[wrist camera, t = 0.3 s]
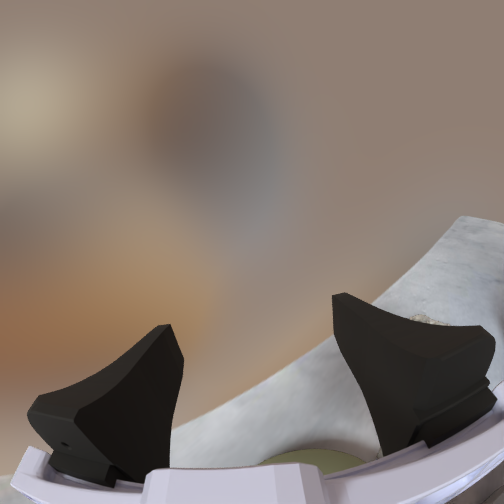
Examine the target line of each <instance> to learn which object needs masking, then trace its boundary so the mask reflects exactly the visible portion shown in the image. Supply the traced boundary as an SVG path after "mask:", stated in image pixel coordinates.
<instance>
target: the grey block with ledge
mask: <svg viewBox="0 0 504 504" xmlns="http://www.w3.org/2000/svg"><path fill="white" fill-rule="evenodd" d="M482 504H504V485H503V486H502V487H501V488H499V489H498V490H496V491H495V492H494V493H493V494H492V495H491V496H490V497H489V498H488V499H486V500H485V501H484V502H483V503H482Z"/></svg>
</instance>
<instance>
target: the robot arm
mask: <svg viewBox="0 0 504 504" xmlns="http://www.w3.org/2000/svg"><path fill="white" fill-rule="evenodd" d="M332 307H333V328H334V335H335V338H336V341H337V344H338V346H339V349H340V351H341V353H342V355H343V357H344V359H345V360H346V362H347V364H348V366H349V368H350V369H351V371H352V373H353V375H354V377H355V379H356V380H357V382H358V384H359V386H360V388H361V390H362V392H363V395H364V397H365V400H366V403H367V405H368V408H369V411H370V414H371V417H372V419H373V422H374V425H375V429H376V432H377V435H378V439H379V442H380V446H381V450H382V454H383V457H382V458H380V459H377V460H374V461H371V462H368V463H366V464H362V465H359V466H356V467H353V468H350V469H346V470H343V471H339V472H335V473H331V474H327V475H323V473H322V472H321V471H320V469H319V468H318V467H317V466H314V465H311V464H305V463H300V462H287V463H271V464H263V465H255V466H244V467H230V468H170V438H171V426H172V419H173V414H174V410H175V406H176V402H177V397H178V394H179V390H180V386H181V381H182V377H183V367H184V357H183V355H182V353H181V350H180V348H179V345H178V343H177V340H176V338H175V335H174V332H173V330H172V327H171V325H170V324H167V325H159V326H157V327H155V328H154V329H153V330H152V331H150V332H149V333H148V334H147V335H146V336H144V337H143V338H142V339H141V340H140V341H139V342H138V343H136V344H135V345H134V346H133V347H132V348H131V349H130V350H128V351H127V352H126V353H124V354H123V355H122V356H121V357H119V358H118V359H117V360H116V361H114V362H113V363H111V364H110V365H109V366H107V367H105V368H104V369H102V370H101V371H99V372H98V373H96V374H94V375H92V376H90V377H88V378H86V379H84V380H82V381H80V382H78V383H76V384H74V385H71V386H69V387H66V388H63V389H61V390H57V391H54V392H50V393H46V394H43V395H39V396H38V397H37V399H36V400H35V401H34V403H33V404H32V406H31V407H30V409H29V410H28V412H27V416H28V420H29V422H30V424H31V426H32V427H33V428H34V429H35V431H36V432H37V433H38V434H39V435H40V436H41V437H42V439H43V440H44V441H45V442H46V443H47V444H48V445H49V446H50V447H51V448H52V449H53V450H54V451H53V453H52V455H50V454H49V453H47V452H45V451H43V450H41V449H38V448H35V447H33V446H29V447H28V449H27V451H26V452H25V454H24V456H23V458H22V460H21V462H20V464H19V466H18V468H17V470H16V472H15V474H14V476H13V478H12V480H11V483H10V484H11V486H13V487H14V488H15V489H16V490H18V491H19V492H20V493H22V494H23V495H24V496H26V497H27V498H28V499H30V500H31V501H33V502H34V503H35V504H445V503H446V502H448V501H450V500H451V499H453V498H454V497H456V496H457V495H459V494H460V493H462V492H463V491H465V490H466V489H468V488H469V487H470V486H472V485H473V484H475V483H476V482H477V481H479V480H480V479H481V478H483V477H484V476H485V475H486V474H488V473H489V472H490V471H491V470H493V469H494V468H495V467H496V466H498V465H499V464H500V463H501V462H502V461H503V460H504V380H503V381H502V382H501V383H499V384H498V385H497V386H496V387H495V388H494V389H493V391H492V392H491V390H490V389H489V388H488V386H489V384H490V381H489V380H488V379H487V378H486V377H485V376H486V373H487V371H488V369H489V366H490V364H491V361H492V359H493V356H494V352H495V344H496V342H495V339H494V337H493V336H492V335H491V334H490V333H488V332H487V331H486V330H485V329H484V328H483V327H482V326H480V325H479V326H445V325H435V324H429V323H423V322H418V321H414V320H410V319H407V318H403V317H400V316H397V315H394V314H392V313H389V312H386V311H384V310H382V309H379V308H377V307H375V306H373V305H370V304H368V303H366V302H364V301H362V300H360V299H358V298H356V297H354V296H352V295H350V294H348V293H340V294H336V295H332Z"/></svg>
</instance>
